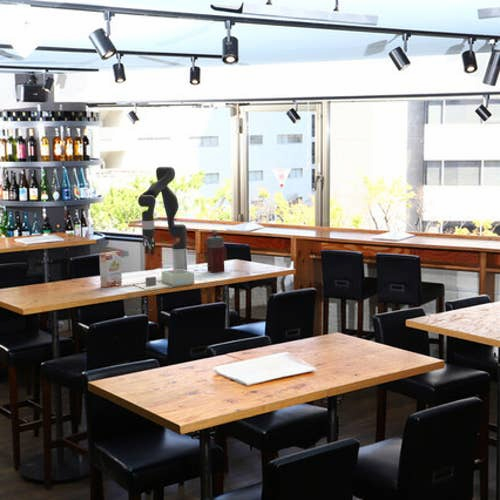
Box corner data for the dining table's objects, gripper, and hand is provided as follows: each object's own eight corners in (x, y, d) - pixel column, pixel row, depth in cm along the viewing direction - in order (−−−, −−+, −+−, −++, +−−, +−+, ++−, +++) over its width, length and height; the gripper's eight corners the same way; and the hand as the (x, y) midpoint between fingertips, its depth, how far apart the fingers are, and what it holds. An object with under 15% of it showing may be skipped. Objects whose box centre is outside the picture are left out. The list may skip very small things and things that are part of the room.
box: (162, 282, 534) (161, 271, 533) (182, 279, 541) (181, 269, 540) (173, 286, 519) (173, 275, 518) (194, 283, 525) (193, 272, 524)
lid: (134, 286, 526) (133, 276, 525) (156, 283, 533) (156, 274, 532) (145, 290, 510) (145, 280, 509) (168, 288, 517) (168, 277, 516)
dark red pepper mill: (227, 271, 569) (226, 229, 565) (212, 273, 564) (210, 231, 560) (222, 269, 577) (221, 228, 573) (207, 271, 572) (205, 230, 568)
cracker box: (107, 287, 520) (105, 254, 518) (100, 287, 524) (98, 253, 521) (122, 284, 532) (121, 251, 529) (115, 283, 535) (113, 250, 533)
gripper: (138, 227, 521) (139, 253, 523) (146, 229, 508) (148, 256, 511) (149, 226, 524) (150, 252, 527) (158, 228, 512) (159, 255, 514)
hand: (149, 254), depth 519 cm, fingers open, 8 cm apart
